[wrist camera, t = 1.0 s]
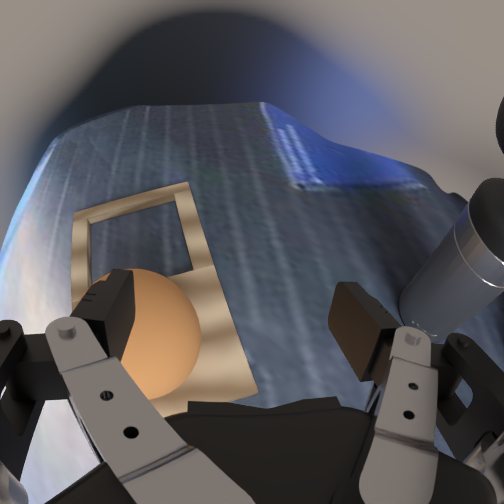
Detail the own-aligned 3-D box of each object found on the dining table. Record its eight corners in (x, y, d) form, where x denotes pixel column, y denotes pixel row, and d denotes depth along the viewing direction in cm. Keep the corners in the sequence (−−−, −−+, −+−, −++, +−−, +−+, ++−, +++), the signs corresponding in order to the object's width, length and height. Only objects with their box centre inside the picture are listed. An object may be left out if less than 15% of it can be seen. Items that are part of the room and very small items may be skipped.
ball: (157, 285, 35) (128, 218, 26) (231, 353, 31) (226, 304, 21) (84, 351, 30) (27, 303, 20) (151, 430, 26) (102, 420, 16)
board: (257, 393, 30) (258, 391, 29) (93, 431, 26) (87, 429, 25) (188, 188, 47) (187, 181, 46) (77, 219, 43) (73, 213, 42)
